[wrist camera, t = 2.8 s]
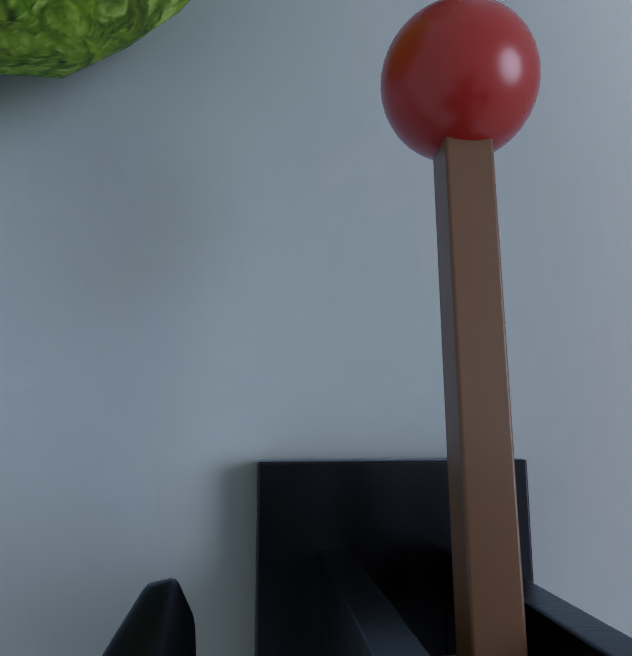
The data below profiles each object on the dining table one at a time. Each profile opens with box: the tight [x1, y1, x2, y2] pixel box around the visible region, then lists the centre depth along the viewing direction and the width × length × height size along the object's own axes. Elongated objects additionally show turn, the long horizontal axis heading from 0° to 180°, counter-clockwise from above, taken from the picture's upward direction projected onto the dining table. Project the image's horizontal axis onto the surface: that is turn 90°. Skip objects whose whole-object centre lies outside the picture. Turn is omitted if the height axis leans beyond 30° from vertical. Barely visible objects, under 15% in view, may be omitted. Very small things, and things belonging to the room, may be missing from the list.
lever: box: [381, 0, 540, 656], centre depth 13 cm, size 17×4×4 cm, turn 0°
